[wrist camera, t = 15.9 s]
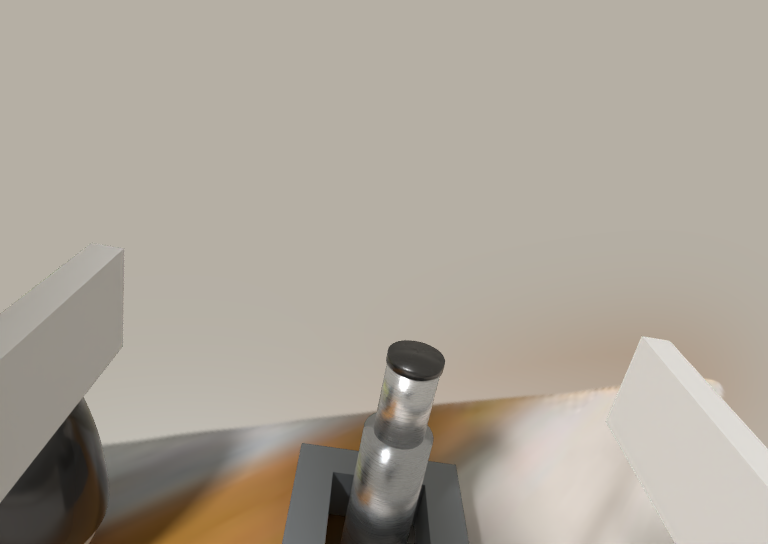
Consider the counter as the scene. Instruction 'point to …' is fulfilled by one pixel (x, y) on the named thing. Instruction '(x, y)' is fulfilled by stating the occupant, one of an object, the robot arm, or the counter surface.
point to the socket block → (333, 487)
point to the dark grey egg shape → (60, 488)
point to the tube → (394, 448)
